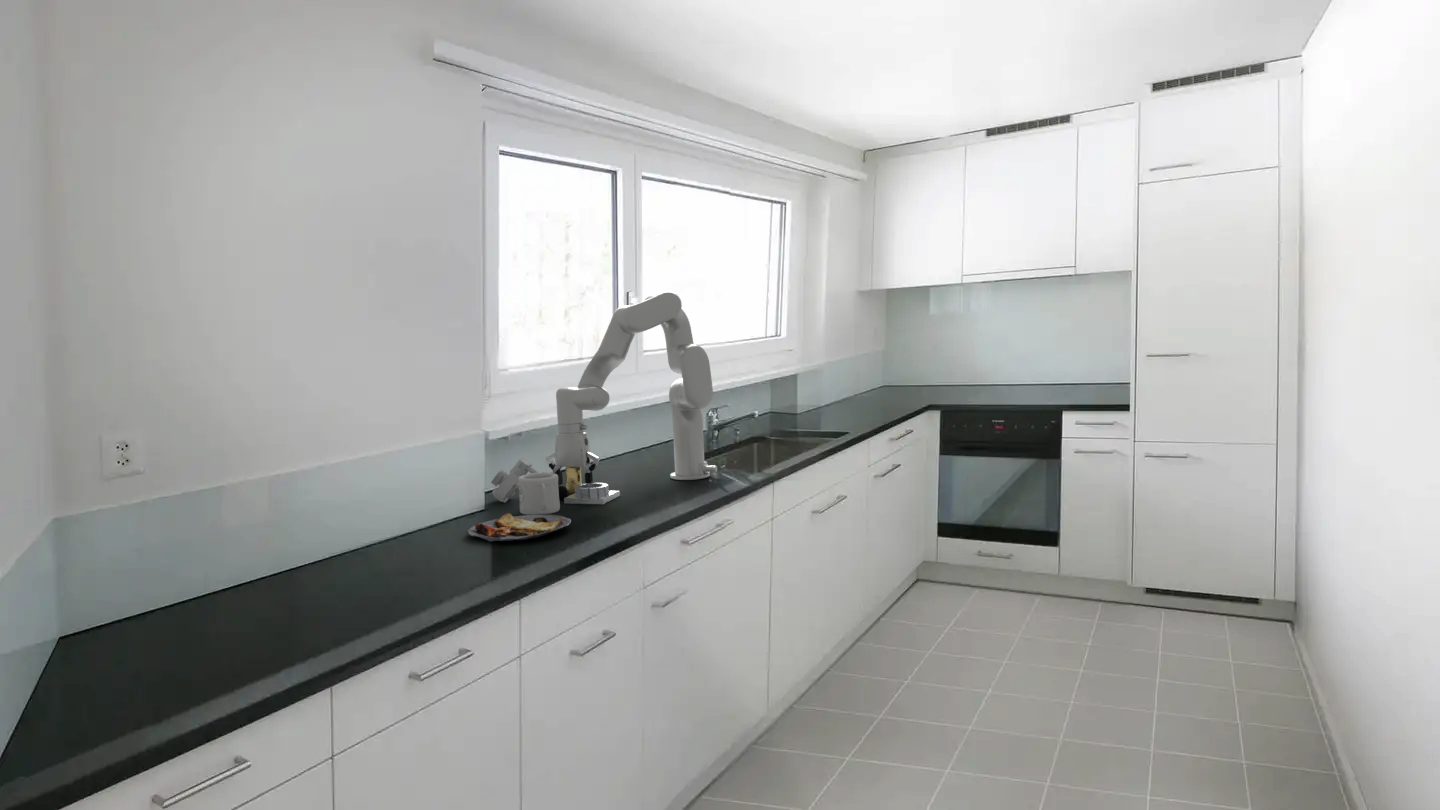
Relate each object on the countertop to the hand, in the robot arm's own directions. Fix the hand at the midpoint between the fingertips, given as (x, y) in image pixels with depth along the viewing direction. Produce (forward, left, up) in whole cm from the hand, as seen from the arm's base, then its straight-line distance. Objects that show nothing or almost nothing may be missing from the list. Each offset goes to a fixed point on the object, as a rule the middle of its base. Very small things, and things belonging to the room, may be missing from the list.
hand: (574, 485), depth 292 cm
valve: (+7, +14, -2) cm, 16 cm away
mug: (-4, +29, -2) cm, 29 cm away
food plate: (-10, +52, -2) cm, 53 cm away
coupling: (0, 0, -2) cm, 2 cm away
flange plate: (-11, +11, -2) cm, 16 cm away
